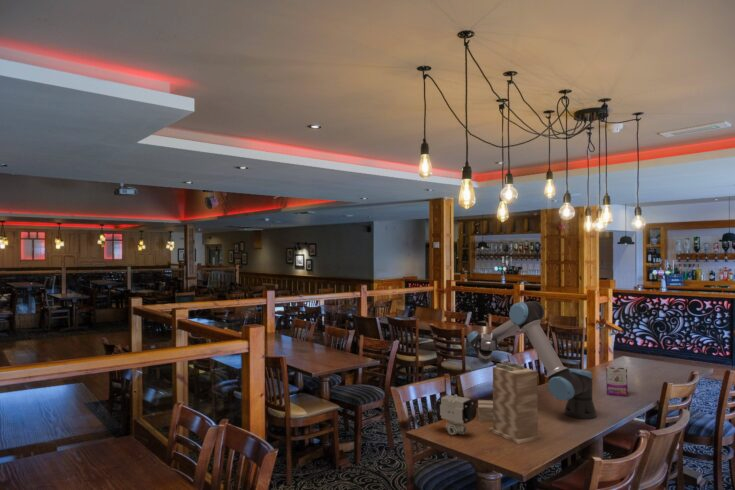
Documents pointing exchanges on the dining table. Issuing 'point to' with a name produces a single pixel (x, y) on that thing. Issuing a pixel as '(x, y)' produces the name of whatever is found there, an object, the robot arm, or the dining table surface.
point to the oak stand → (515, 403)
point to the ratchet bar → (487, 343)
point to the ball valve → (456, 412)
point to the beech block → (485, 410)
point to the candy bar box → (616, 381)
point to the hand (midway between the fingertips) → (486, 335)
